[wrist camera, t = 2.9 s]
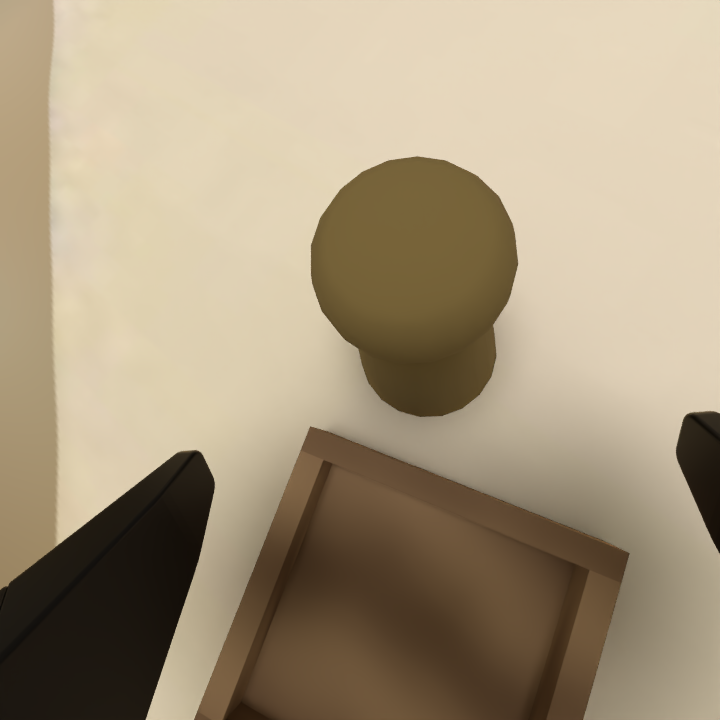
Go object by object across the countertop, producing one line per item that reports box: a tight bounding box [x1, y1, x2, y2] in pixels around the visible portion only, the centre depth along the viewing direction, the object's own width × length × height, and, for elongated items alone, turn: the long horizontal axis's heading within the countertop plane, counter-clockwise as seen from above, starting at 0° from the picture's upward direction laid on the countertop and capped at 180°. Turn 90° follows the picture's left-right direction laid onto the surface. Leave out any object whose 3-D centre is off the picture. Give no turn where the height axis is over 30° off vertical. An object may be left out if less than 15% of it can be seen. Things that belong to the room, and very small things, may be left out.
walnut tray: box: [194, 427, 629, 720], centre depth 17 cm, size 12×12×2 cm
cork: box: [311, 157, 518, 417], centre depth 15 cm, size 6×6×11 cm
